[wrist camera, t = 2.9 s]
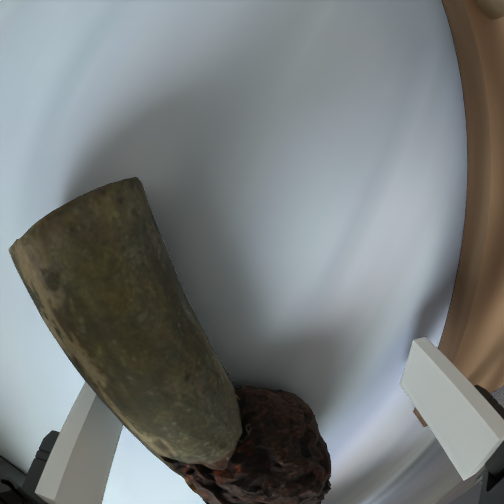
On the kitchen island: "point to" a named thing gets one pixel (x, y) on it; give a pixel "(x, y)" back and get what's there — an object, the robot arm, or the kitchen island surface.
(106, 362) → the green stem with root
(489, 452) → the robot arm
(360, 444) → the kitchen island surface
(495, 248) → the upside-down small table
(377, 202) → the kitchen island surface
